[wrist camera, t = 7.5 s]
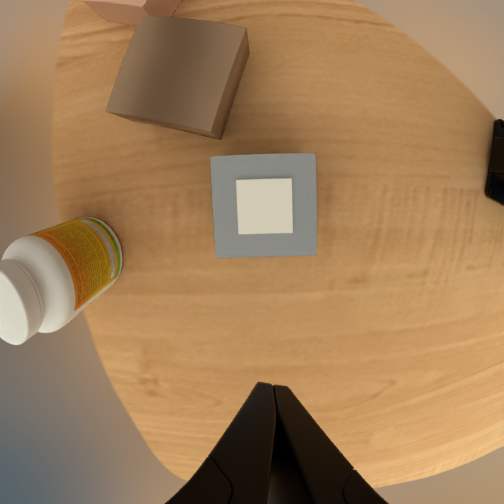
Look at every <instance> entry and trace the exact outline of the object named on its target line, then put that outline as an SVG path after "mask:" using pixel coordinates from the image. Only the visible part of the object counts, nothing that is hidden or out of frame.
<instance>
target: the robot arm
mask: <svg viewBox="0 0 504 504" xmlns="http://www.w3.org/2000/svg"><path fill="white" fill-rule="evenodd" d="M500 125H501V127H500ZM490 191H491V193H490ZM485 194H486V196H487V197H488V198H489V199H491V200H493V201H495V202H497V203H499V204H501V205H502V206H504V121H503V120H501V119H498V120H496V121H495V125H494V136H493V145H492V153H491V160H490V166H489V172H488V178H487V184H486V189H485ZM353 469H354V467H353V466H352V465H351V464H350V463H349V461H348V460H347V459H346V458H345V457H344V455H343V454H342V453H341V452H340V451H339V450H338V448H337V447H336V446H335V445H334V443H333V442H332V441H331V440H330V439H329V437H328V436H327V435H326V434H325V433H324V431H323V430H322V429H321V428H320V426H319V425H318V424H317V423H316V421H315V420H314V419H313V418H312V416H311V415H310V414H309V413H308V411H307V410H306V409H305V408H304V406H303V405H302V404H301V403H300V401H299V400H298V399H297V397H296V396H295V395H294V394H293V392H292V391H291V390H290V388H289V387H287V386H282V385H273V386H272V384H270V383H264V382H258V383H257V384H256V385H255V387H254V388H253V390H252V391H251V393H250V395H249V396H248V398H247V399H246V401H245V402H244V404H243V405H242V407H241V408H240V410H239V412H238V413H237V415H236V416H235V418H234V419H233V421H232V422H231V424H230V425H229V427H228V428H227V429H226V431H225V432H224V434H223V435H222V437H221V438H220V440H219V441H218V443H217V444H216V445H215V447H214V448H213V450H212V451H211V453H210V454H209V455H208V457H207V458H206V459H205V461H204V462H203V463H202V465H201V466H200V467H199V469H198V470H197V471H196V472H195V474H194V475H193V476H192V477H191V479H190V480H189V481H188V482H187V483H186V484H185V485H184V486H183V487H182V488H181V489H180V490H179V491H178V492H177V493H176V494H175V495H174V496H173V497H172V498H171V499H170V500H168V501H167V502H166V503H165V504H388V503H387V502H386V501H385V500H384V499H383V498H382V497H381V496H380V495H379V494H378V493H377V492H376V491H375V490H374V489H373V488H372V487H371V486H370V485H369V484H368V483H367V482H366V481H365V480H364V479H363V478H362V476H361V475H360V474H359V473H358V472H357V471H356V470H353Z"/></svg>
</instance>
